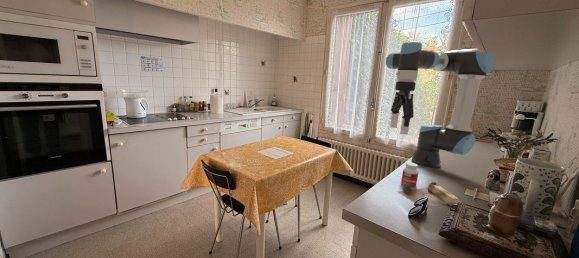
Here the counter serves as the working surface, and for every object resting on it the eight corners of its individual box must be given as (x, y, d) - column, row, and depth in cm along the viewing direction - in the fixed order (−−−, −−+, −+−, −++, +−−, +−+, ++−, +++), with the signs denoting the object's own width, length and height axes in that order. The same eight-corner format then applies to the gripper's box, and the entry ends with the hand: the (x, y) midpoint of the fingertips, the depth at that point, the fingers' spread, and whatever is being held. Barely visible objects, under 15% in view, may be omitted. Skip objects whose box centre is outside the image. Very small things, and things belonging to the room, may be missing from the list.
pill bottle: (400, 188, 104) (404, 164, 102) (400, 183, 110) (404, 160, 108) (416, 191, 102) (420, 167, 100) (415, 186, 107) (419, 163, 105)
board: (431, 189, 105) (433, 179, 104) (461, 205, 92) (464, 194, 91) (395, 194, 98) (396, 183, 97) (422, 211, 86) (424, 199, 85)
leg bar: (425, 188, 101) (427, 180, 100) (433, 188, 101) (435, 180, 101) (449, 205, 87) (451, 197, 87) (458, 206, 88) (460, 197, 87)
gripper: (387, 80, 111) (381, 124, 115) (407, 80, 86) (399, 136, 91) (404, 81, 110) (397, 125, 114) (429, 81, 86) (419, 138, 90)
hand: (398, 130), depth 103 cm, fingers open, 13 cm apart
